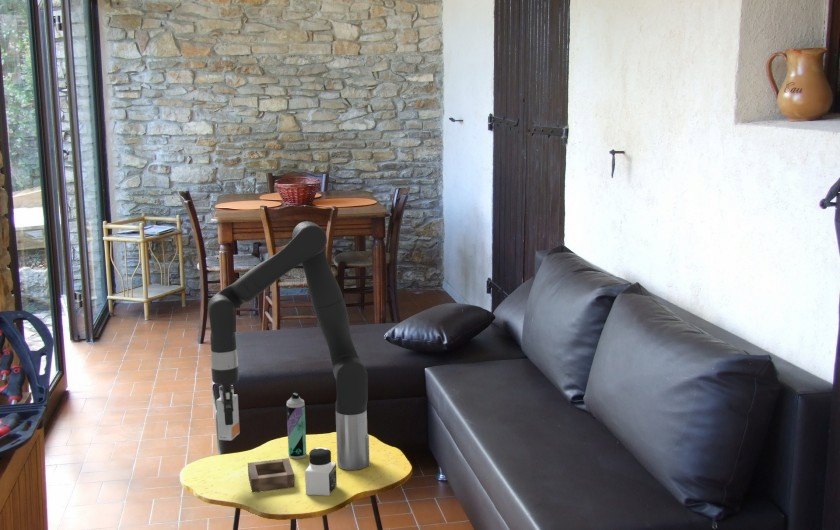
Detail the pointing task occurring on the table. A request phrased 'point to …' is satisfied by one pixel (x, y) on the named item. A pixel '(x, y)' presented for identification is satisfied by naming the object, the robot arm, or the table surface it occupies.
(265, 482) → the walnut well block
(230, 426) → the skincare box
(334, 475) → the medicine bottle
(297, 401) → the spray can
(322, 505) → the table surface
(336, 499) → the table surface
